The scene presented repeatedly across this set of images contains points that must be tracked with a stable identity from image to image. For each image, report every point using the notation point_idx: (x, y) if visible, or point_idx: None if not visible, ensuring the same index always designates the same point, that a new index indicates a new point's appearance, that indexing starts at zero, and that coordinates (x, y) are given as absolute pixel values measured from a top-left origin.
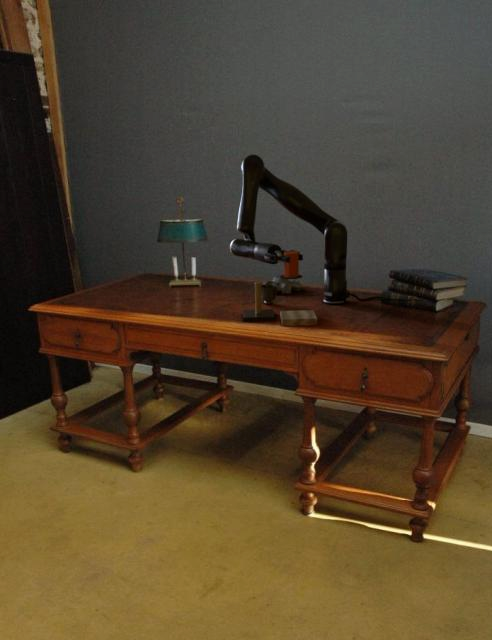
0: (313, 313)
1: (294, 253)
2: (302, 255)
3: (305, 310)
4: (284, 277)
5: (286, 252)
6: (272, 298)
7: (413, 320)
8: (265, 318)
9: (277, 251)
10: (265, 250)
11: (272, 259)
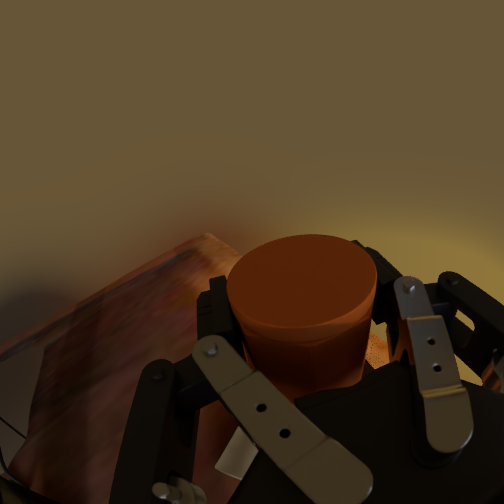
0: (240, 431)
1: (291, 239)
2: (213, 279)
3: (241, 476)
4: (364, 369)
5: (345, 285)
6: None
7: (95, 334)
8: None
9: (442, 389)
10: None
11: (469, 344)
